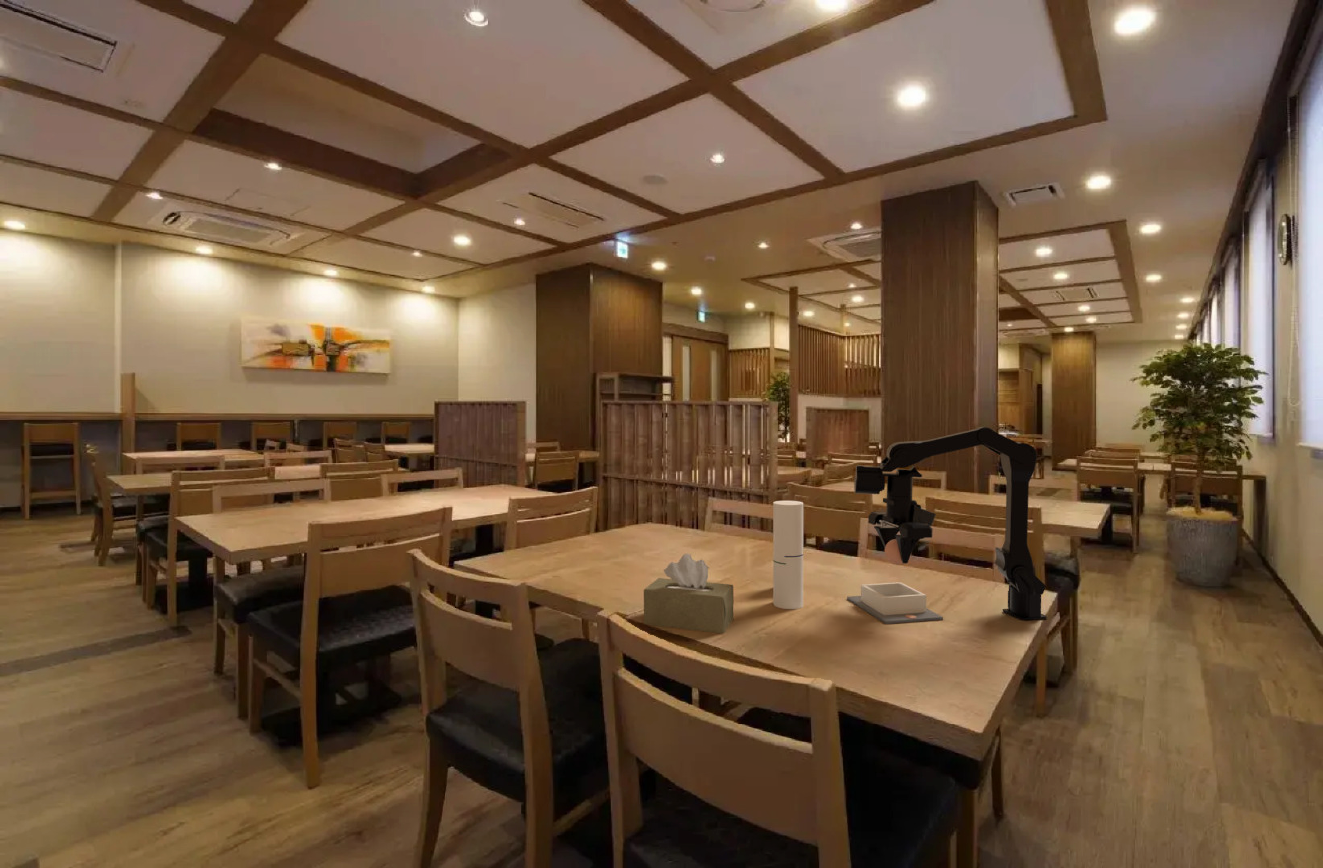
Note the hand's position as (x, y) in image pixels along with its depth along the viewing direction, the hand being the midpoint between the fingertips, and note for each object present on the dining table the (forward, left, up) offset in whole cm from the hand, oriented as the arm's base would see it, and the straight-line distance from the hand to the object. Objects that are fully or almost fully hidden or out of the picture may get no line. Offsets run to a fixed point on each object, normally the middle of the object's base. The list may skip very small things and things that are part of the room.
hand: (897, 559), depth 145 cm
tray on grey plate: (-1, +2, -11) cm, 12 cm away
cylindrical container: (+7, +25, -12) cm, 28 cm away
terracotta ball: (0, 0, +2) cm, 2 cm away
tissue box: (0, +51, -12) cm, 53 cm away
